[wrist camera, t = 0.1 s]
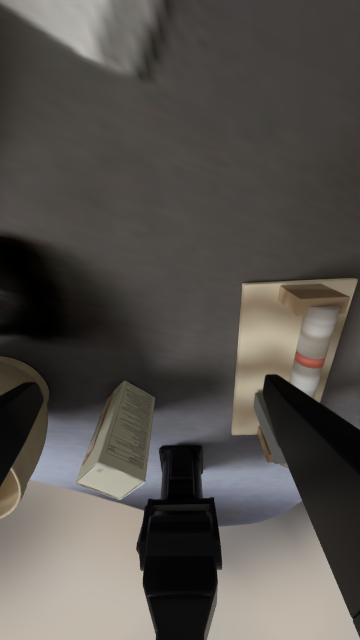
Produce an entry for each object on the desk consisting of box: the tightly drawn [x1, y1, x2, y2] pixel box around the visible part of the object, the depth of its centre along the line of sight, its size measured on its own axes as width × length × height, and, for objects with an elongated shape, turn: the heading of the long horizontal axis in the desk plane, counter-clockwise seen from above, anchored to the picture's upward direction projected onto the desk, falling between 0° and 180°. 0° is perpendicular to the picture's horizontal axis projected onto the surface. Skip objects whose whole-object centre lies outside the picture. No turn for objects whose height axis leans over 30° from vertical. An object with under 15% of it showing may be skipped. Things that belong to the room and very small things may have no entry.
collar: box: [253, 393, 286, 464], centre depth 24 cm, size 2×6×7 cm, turn 93°
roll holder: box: [231, 278, 358, 468], centre depth 24 cm, size 22×11×6 cm, turn 3°
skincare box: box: [76, 381, 155, 500], centre depth 24 cm, size 5×4×10 cm
